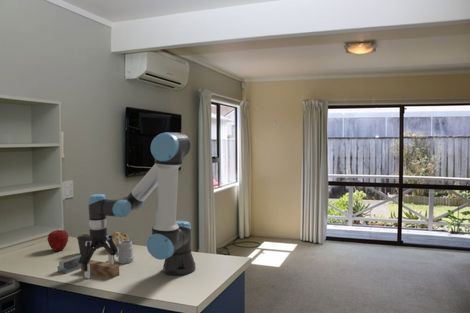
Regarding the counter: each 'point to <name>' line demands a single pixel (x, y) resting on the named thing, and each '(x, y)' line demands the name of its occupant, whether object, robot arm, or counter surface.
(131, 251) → the mug
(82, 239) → the coffee cup
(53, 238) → the apple
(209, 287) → the counter surface
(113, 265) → the walnut bar
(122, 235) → the rock
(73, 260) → the ridge
